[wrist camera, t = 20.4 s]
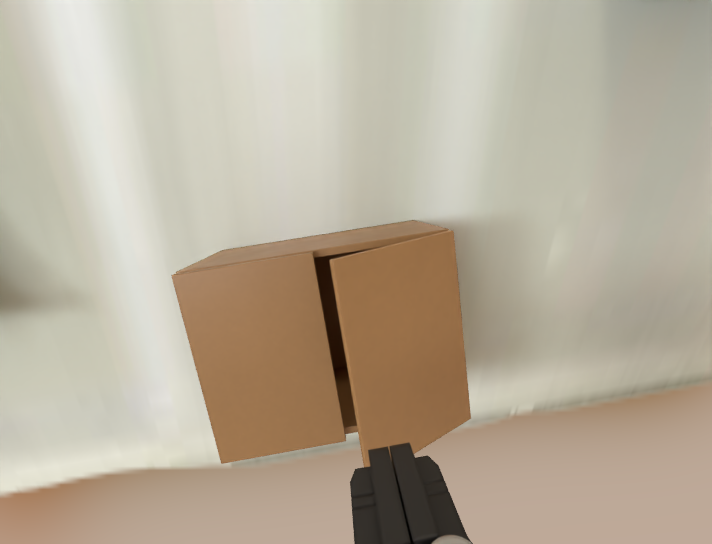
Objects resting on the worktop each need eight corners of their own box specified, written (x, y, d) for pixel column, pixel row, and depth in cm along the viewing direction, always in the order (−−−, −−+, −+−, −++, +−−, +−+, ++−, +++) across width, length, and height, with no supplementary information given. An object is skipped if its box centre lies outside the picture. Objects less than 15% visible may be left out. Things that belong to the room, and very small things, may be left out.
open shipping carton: (413, 220, 32) (453, 229, 21) (429, 354, 34) (470, 419, 24) (221, 250, 31) (169, 274, 21) (252, 385, 33) (220, 465, 23)
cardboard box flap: (449, 230, 22) (453, 230, 21) (466, 415, 24) (471, 418, 24) (328, 259, 18) (332, 260, 17) (365, 477, 20) (369, 482, 20)
